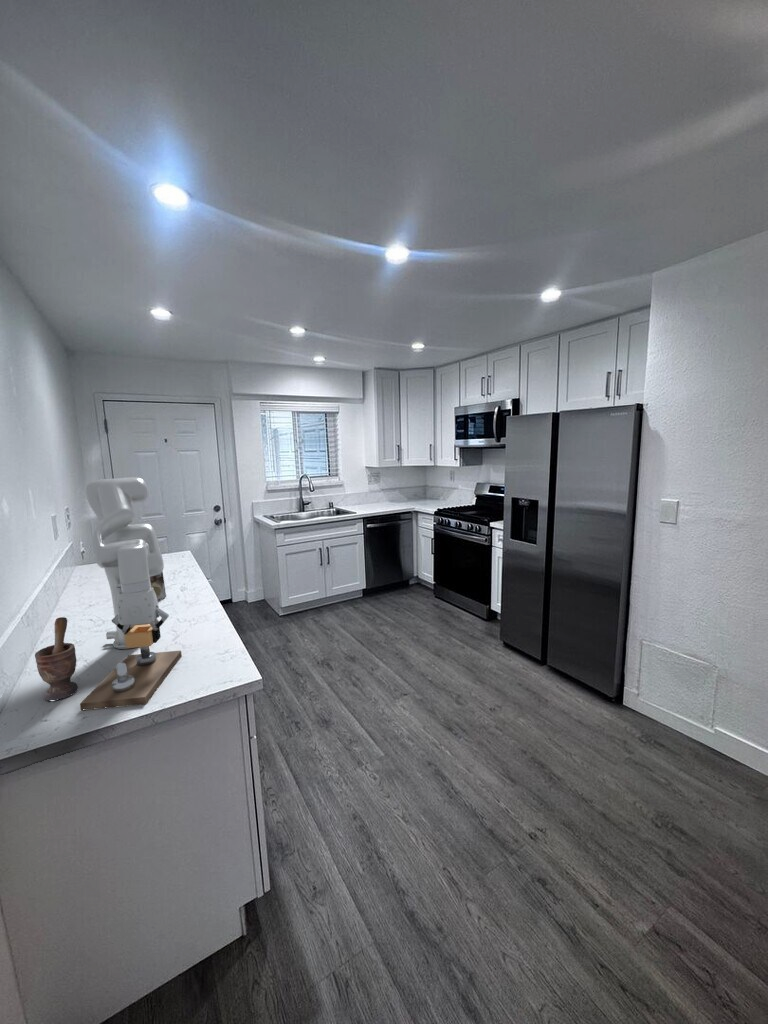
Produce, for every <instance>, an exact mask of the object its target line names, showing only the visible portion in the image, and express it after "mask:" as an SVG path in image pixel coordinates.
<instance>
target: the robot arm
mask: <svg viewBox="0 0 768 1024" xmlns="http://www.w3.org/2000/svg"><path fill="white" fill-rule="evenodd" d="M149 493H150V492H149V488H148V484H147V483H146V481H145V480H144V479H142V478H141V477H139V476H132V477H120V478H119V477H118V478H104V479H103V478H102V479H96V480H93V481H90V482H89V483H88V484H86V486H85V496H86V499H87V502H88V505H89V507H90V508H91V510H92V511H93V512H94V514H95V515H96V517H97V518H98V520H99V523H98V524H97V525H96V527H95V528H94V530H93V533H92V537H91V543H92V545H91V546H92V551H93V556H94V559H95V562H96V565H97V566H98V567H99V568H101V569H104V573H105V576H106V579H107V581H108V585H109V589H110V593H111V600H112V607H113V613H114V617H113V618H112V619H111V623H113V625H114V626H115V628H116V630H115V631H114V630H111V631H106V633H105V637H106V640H114V641H113V647H114V648H115V649H118V650H129V649H131V648H126V641H125V635H126V634H127V633H128V632H129V631H130V630H131V629H132V628H133V627H134V626H135V625H149V624H150V625H151V627H152V628H153V631H152V637H153V644H156V643H157V642H158V641H159V640H160V639H161V635H162V634H161V628H160V627H161V626H163V624H164V623H165V622H166V620H167V619H168V618H169V614H168V613H167V612H165V611H164V610H162V609H161V608H160V606H159V602H158V601H159V600H157V597H156V594H155V591H154V589H153V587H151V584H150V577H151V576H155V575H158V574H160V573H161V572H162V571H164V568H165V566H164V560H163V554H162V552H161V548H160V545H159V540H158V536H157V533H156V530H155V528H154V527H153V526H152V525H151V524H150V523H135V524H131V523H133V522H134V520H135V512H134V508H133V505H132V504H134V503H135V504H136V503H143V502H144V503H145V502H146V501H147V500H148V499H149ZM159 617H161V619H160V620H159V619H158V618H159ZM135 648H136V647H133V648H132V649H135Z"/></svg>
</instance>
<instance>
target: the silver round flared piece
mask: <svg viewBox="0 0 768 1024" xmlns="http://www.w3.org/2000/svg"><path fill="white" fill-rule="evenodd" d="M115 668H116V672H117V679H116V680H114V681H113V682H112V688H113V692H115V693H121V692H125V691H128V690H130V689H132V688H133V687H134V686H135V680H134V676H128V674H127V667H126V664H125V663H124V662H122V661H121V662H118V663H117V664H116V666H115Z"/></svg>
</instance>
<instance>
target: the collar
mask: <svg viewBox="0 0 768 1024" xmlns="http://www.w3.org/2000/svg"><path fill="white" fill-rule="evenodd" d="M152 631H153V628H152V627H151V625H150V624H148V625H135V626H134V627H133V628H132V629H131V630H130V631H129V632H128V633H127V634H126V635H125V641H126V648H130V649H134V648H133V647H135V648H140V647H146V646H149V647H151V646H152V645H153V644H154V643H153V637H152Z"/></svg>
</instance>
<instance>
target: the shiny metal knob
mask: <svg viewBox="0 0 768 1024" xmlns="http://www.w3.org/2000/svg"><path fill="white" fill-rule="evenodd" d="M139 649H140V653H139V654H140V655H138V656H137V657H136V662H137V666H147V665H150V664H152V663H154V662H155V661H156V654H155V653H156V652H154V651H150V646H146V647H139Z"/></svg>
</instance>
